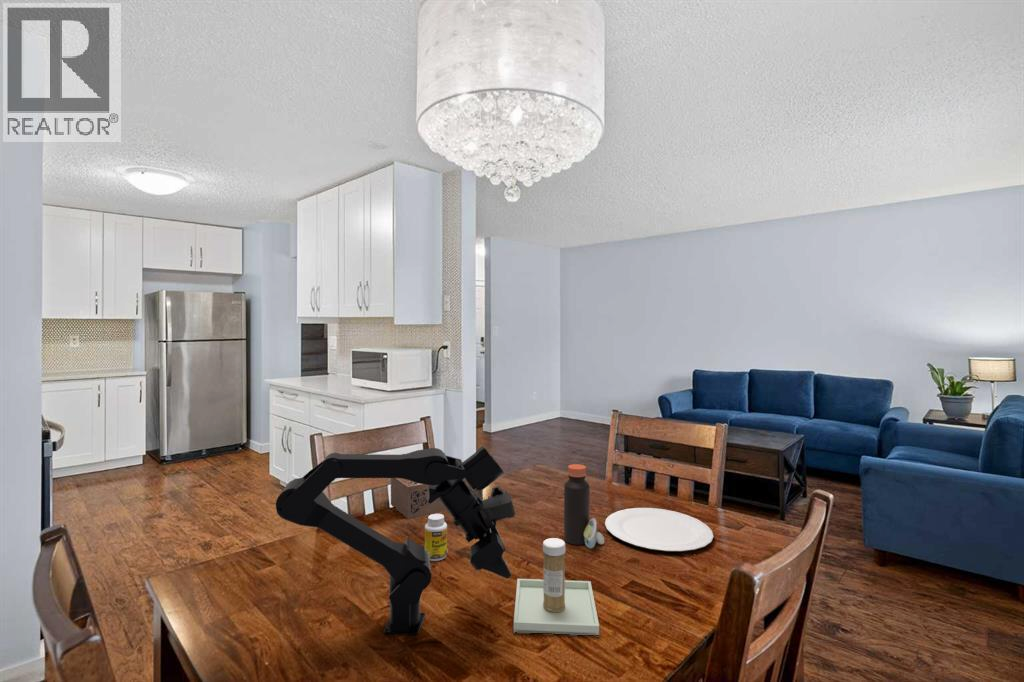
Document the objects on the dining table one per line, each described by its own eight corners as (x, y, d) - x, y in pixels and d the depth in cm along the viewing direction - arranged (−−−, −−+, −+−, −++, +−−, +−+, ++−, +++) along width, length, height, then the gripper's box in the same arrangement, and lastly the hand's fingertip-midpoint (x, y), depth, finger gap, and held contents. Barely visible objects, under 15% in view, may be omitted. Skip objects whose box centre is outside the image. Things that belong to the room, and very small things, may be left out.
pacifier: (593, 538, 124) (580, 547, 127) (614, 547, 125) (600, 556, 129) (594, 512, 129) (581, 522, 133) (614, 521, 131) (601, 530, 134)
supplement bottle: (430, 564, 119) (430, 522, 118) (421, 555, 123) (421, 515, 123) (450, 558, 122) (451, 517, 121) (441, 549, 126) (441, 510, 126)
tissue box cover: (408, 520, 146) (408, 487, 146) (390, 505, 158) (390, 474, 158) (482, 503, 161) (482, 472, 160) (461, 490, 172) (461, 462, 172)
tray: (599, 636, 92) (599, 625, 91) (513, 632, 92) (513, 622, 92) (590, 590, 108) (590, 581, 107) (517, 587, 108) (517, 578, 108)
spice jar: (567, 603, 101) (568, 539, 101) (561, 615, 97) (561, 548, 97) (546, 599, 103) (546, 535, 102) (539, 610, 99) (539, 544, 98)
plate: (738, 546, 130) (738, 539, 130) (646, 565, 119) (647, 558, 119) (665, 508, 157) (665, 502, 157) (585, 521, 146) (586, 514, 146)
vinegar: (570, 532, 137) (571, 461, 137) (593, 538, 134) (593, 465, 133) (559, 541, 132) (559, 467, 131) (582, 547, 128) (583, 471, 127)
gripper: (501, 500, 88) (548, 565, 90) (491, 464, 106) (531, 518, 109) (449, 537, 87) (498, 601, 90) (449, 494, 105) (489, 548, 108)
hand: (506, 563), depth 99 cm, fingers open, 9 cm apart
